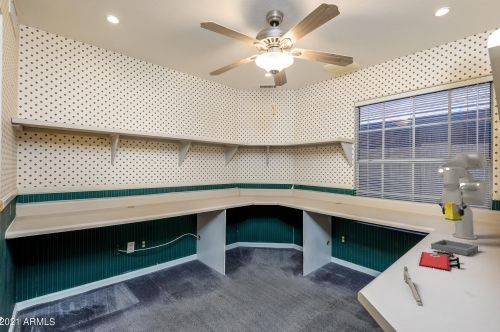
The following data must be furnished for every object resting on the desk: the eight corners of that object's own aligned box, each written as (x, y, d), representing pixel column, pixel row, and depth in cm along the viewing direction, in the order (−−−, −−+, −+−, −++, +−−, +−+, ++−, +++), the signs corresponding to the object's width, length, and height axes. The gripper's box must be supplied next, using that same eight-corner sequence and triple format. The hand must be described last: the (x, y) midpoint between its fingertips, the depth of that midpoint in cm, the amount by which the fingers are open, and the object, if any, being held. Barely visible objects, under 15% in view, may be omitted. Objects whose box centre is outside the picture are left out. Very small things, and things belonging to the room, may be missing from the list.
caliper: (403, 280, 98) (403, 265, 98) (406, 281, 97) (406, 265, 98) (418, 306, 79) (417, 286, 79) (422, 306, 78) (421, 287, 79)
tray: (443, 244, 147) (443, 239, 147) (478, 251, 133) (477, 245, 133) (431, 248, 139) (430, 243, 139) (466, 256, 125) (466, 250, 125)
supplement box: (453, 218, 152) (452, 201, 152) (462, 220, 146) (461, 202, 146) (444, 219, 151) (443, 201, 152) (452, 220, 145) (452, 202, 146)
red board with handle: (457, 255, 127) (423, 250, 136) (457, 250, 127) (422, 245, 136) (461, 274, 103) (418, 267, 113) (460, 268, 104) (418, 261, 113)
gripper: (472, 187, 144) (473, 216, 143) (437, 186, 159) (439, 212, 158) (467, 187, 140) (468, 217, 139) (432, 186, 155) (433, 213, 154)
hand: (453, 214), depth 149 cm, fingers closed on supplement box, 7 cm apart
